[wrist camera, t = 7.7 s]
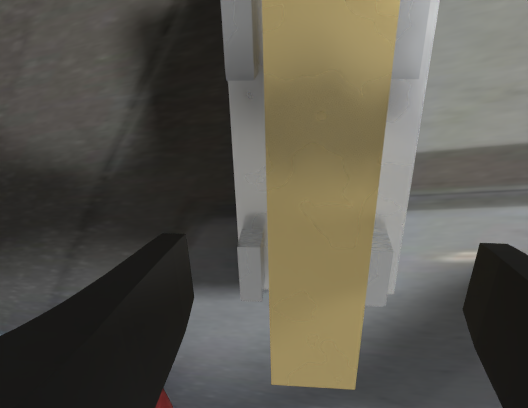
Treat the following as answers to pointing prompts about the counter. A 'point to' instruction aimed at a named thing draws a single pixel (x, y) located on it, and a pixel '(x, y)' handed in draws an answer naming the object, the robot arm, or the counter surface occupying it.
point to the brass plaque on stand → (323, 177)
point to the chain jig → (254, 151)
